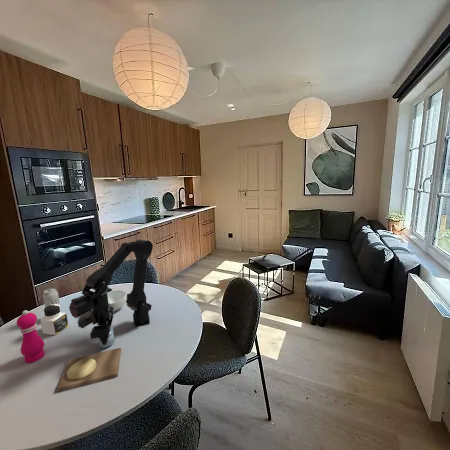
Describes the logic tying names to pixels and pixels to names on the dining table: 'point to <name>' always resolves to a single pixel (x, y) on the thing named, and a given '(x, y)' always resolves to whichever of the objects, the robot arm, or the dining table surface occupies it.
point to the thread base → (90, 369)
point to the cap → (109, 341)
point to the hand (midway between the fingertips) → (106, 339)
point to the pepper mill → (30, 337)
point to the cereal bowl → (117, 298)
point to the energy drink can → (51, 297)
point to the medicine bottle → (54, 320)
